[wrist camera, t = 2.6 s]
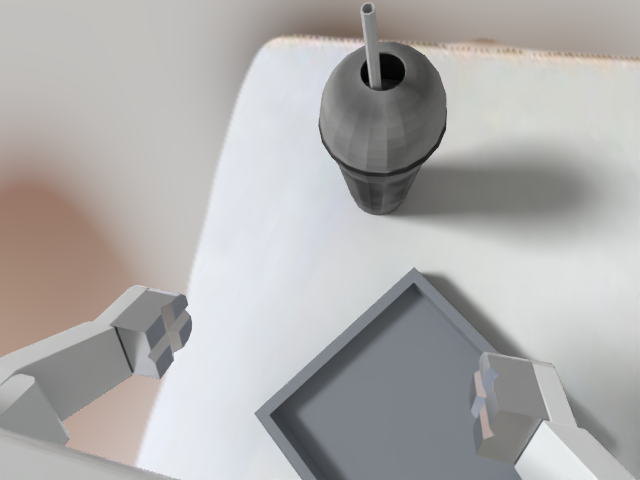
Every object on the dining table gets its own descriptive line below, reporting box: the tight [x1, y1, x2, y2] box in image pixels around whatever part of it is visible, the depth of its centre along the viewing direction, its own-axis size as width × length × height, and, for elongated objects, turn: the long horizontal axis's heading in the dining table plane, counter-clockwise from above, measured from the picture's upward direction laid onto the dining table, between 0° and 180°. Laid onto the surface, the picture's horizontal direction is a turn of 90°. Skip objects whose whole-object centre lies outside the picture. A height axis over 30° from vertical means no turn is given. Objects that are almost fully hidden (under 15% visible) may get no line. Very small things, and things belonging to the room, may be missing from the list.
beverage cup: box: [318, 2, 447, 215], centre depth 22 cm, size 7×7×20 cm
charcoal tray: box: [254, 268, 522, 480], centre depth 26 cm, size 16×16×2 cm
